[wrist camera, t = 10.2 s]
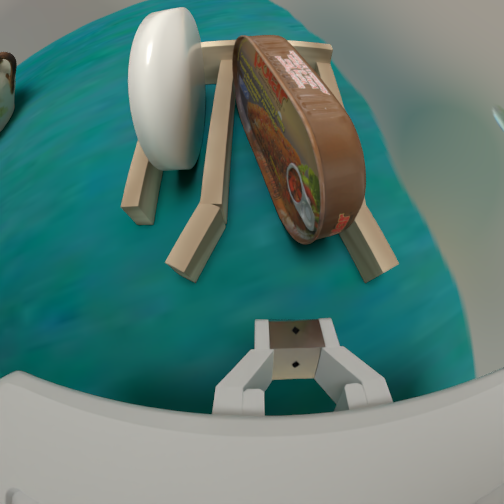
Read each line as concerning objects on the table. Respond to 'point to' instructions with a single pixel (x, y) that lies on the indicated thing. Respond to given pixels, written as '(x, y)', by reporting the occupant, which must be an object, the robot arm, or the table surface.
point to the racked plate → (168, 89)
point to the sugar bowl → (7, 87)
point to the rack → (218, 172)
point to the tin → (298, 138)
